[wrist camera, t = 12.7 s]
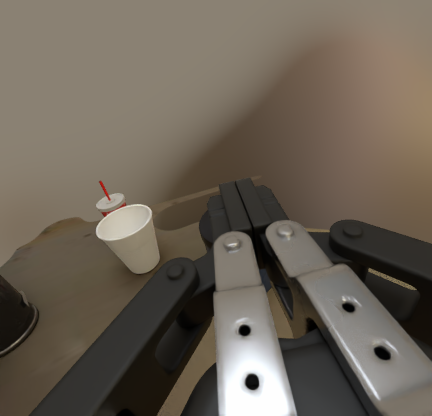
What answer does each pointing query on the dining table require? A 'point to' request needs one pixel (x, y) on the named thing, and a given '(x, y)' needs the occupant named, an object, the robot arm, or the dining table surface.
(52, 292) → the dining table surface
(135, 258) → the cup
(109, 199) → the beverage cup
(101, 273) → the dining table surface
